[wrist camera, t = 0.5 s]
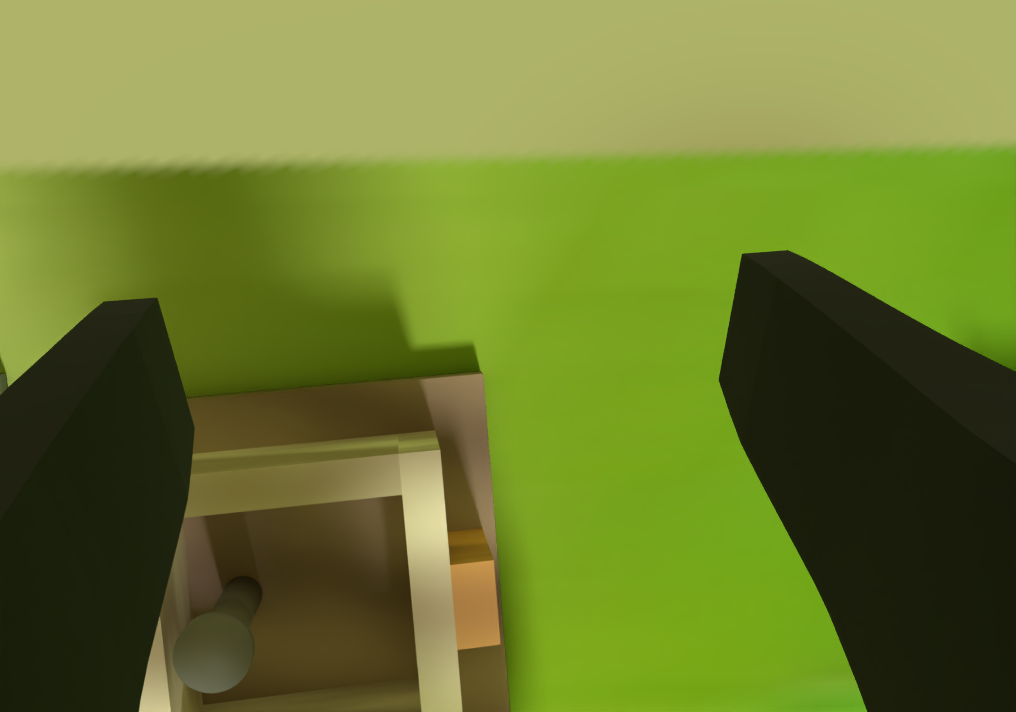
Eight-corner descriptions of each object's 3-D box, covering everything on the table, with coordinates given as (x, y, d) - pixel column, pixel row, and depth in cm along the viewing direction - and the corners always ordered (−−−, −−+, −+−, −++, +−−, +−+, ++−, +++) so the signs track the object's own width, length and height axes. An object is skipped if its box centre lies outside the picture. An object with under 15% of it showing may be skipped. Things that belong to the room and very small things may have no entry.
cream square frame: (496, 701, 35) (509, 754, 31) (169, 745, 33) (138, 808, 29) (474, 426, 34) (484, 445, 30) (135, 459, 32) (98, 483, 28)
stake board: (509, 734, 36) (534, 835, 29) (101, 792, 34) (30, 912, 27) (480, 371, 34) (500, 390, 28) (53, 409, 33) (-33, 440, 26)
